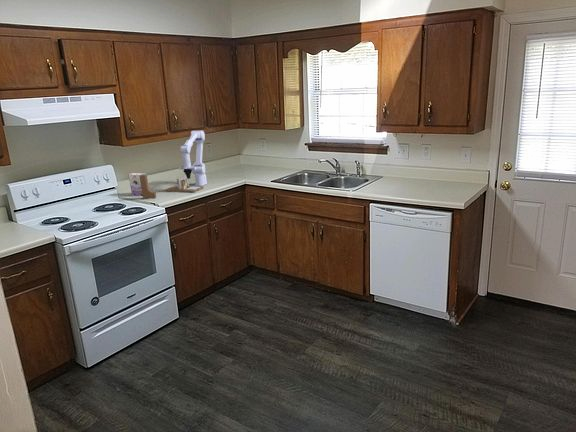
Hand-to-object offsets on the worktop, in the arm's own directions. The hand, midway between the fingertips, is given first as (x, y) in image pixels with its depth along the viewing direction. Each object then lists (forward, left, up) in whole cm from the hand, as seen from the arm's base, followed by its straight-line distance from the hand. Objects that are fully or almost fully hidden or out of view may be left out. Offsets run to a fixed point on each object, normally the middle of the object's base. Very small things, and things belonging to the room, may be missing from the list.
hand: (188, 178), depth 353 cm
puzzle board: (0, -6, -9) cm, 11 cm away
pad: (0, +3, -8) cm, 8 cm away
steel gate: (0, -6, -8) cm, 10 cm away
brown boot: (+27, -18, -10) cm, 34 cm away
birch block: (0, -6, -9) cm, 11 cm away
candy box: (+18, -34, -10) cm, 40 cm away
